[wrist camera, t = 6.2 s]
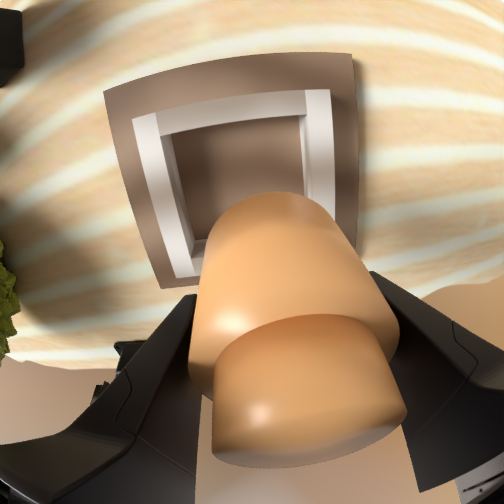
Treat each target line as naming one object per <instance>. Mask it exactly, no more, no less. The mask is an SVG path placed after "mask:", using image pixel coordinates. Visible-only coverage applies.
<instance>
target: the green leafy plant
mask: <svg viewBox="0 0 504 504" xmlns="http://www.w3.org/2000/svg"><path fill="white" fill-rule="evenodd" d="M3 248H4V247H3V243H2V241H1V240H0V258H1V257H2V256H3V254H2V252H3ZM15 280H16V277H15V276H14V275H13V274H12V273H10V272H9V271H6V268H4V267H3V264H2V263H1V262H0V367H1V360H2V359H3V358H4V357H5V354H6V353H10V349H9V346H8V341H7V339H6V338H9V337H11V336H14V335H16V334H17V331H16V329H15V328H14V326H13V324H12V320H11V319H12V318H11V316H12V315H15V314H16V313H18V312H21V309H20V305H19V301H18V297H17V296H16V293H15V292H13V288H12V287H14V284H15Z"/></svg>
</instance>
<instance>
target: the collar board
mask: <svg viewBox="0 0 504 504" xmlns="http://www.w3.org/2000/svg"><path fill="white" fill-rule="evenodd" d="M103 93H104V98H105V104H106V109H107V114H108V119H109V124H110V128H111V133H112V137H113V142H114V146H115V150H116V154H117V158H118V162H119V166H120V169H121V173H122V177H123V180H124V184H125V187H126V191H127V194H128V197H129V201H130V204H131V207H132V210H133V213H134V217H135V220H136V223H137V226H138V229H139V232H140V235H141V237H142V240H143V243H144V246H145V249H146V251H147V254H148V257H149V260H150V262H151V265H152V268H153V270H154V273H155V275H156V278H157V280H158V283H159V285H160V288H161V289H165V288H174V287H183V286H192V285H199V282H200V276H201V270H202V264H203V258H204V253H205V247H206V242H207V239H208V236H209V233H210V231H211V229H212V227H213V226H214V224H215V223H216V221H217V220H218V219H219V218H220V217H221V216H222V214H223V213H224V212H226V211H227V210H228V209H229V208H230V207H232V206H233V205H235V204H236V203H238V202H240V201H242V200H244V199H246V198H248V197H251V196H254V195H257V194H262V193H267V192H289V193H294V194H299V195H302V196H304V197H307V198H309V199H311V200H313V201H315V202H317V203H318V204H319V205H321V206H322V207H323V208H324V209H325V210H326V211H327V212H328V213H329V214H330V215H331V217H332V218H333V219H334V221H335V222H336V224H337V225H338V227H339V228H340V229H341V231H342V232H343V234H344V235H345V237H346V238H347V240H348V241H349V243H350V244H351V246H352V247H353V249H354V250H355V244H356V230H357V213H358V183H359V148H358V119H357V102H356V89H355V78H354V69H353V60H352V54H347V53H328V52H290V53H271V54H259V55H249V56H240V57H232V58H225V59H219V60H213V61H208V62H202V63H197V64H192V65H188V66H183V67H179V68H175V69H171V70H167V71H163V72H160V73H156V74H152V75H149V76H146V77H142V78H139V79H136V80H133V81H130V82H127V83H124V84H121V85H119V86H116V87H113V88H111V89H108V90H105V91H103Z"/></svg>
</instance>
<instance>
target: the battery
mask: <svg viewBox="0 0 504 504" xmlns="http://www.w3.org/2000/svg"><path fill="white" fill-rule="evenodd" d="M23 66H24V55H23V44H22V28H21V12H20V11H18V10H11V9H4V8H0V87H1V86H2V85H3V84H4V83H6V82H7V81H8V80H9V79H10V78H11V77H12V76H13V75H15V74H16V73H17V72H18V71H19V70H20V69H22V68H23Z"/></svg>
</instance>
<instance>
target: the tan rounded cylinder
mask: <svg viewBox="0 0 504 504" xmlns="http://www.w3.org/2000/svg"><path fill="white" fill-rule="evenodd" d="M399 337H400V331H399V324H398V321H397V319H396V317H395V315H394V313H393V312H392V310H391V308H390V306H389V305H388V303H387V301H386V300H385V298H384V296H383V294H382V293H381V291H380V290H379V288H378V286H377V285H376V283H375V281H374V280H373V278H372V277H371V275H370V273H369V272H368V270H367V269H366V267H365V265H364V264H363V262H362V261H361V259H360V258H359V256H358V255H357V253H356V252H355V250H354V249H353V247H352V246H351V244H350V243H349V241H348V240H347V238H346V237H345V235H344V234H343V232H342V231H341V229H340V228H339V227H338V225H337V224H336V222H335V221H334V219H333V218H332V217H331V215H330V214H329V213H328V212H327V211H326V210H325V209H324V208H323V207H322V206H321V205H319V204H318V203H317V202H315V201H313V200H311V199H309V198H307V197H304V196H302V195H299V194H294V193H289V192H267V193H262V194H257V195H254V196H251V197H248V198H246V199H244V200H242V201H240V202H238V203H236V204H235V205H233V206H232V207H230V208H229V209H228V210H227V211H226V212H224V213H223V214H222V216H221V217H220V218H219V219H218V220H217V221H216V223H215V224H214V226H213V227H212V229H211V231H210V233H209V236H208V239H207V242H206V247H205V253H204V258H203V264H202V270H201V276H200V282H199V288H198V295H197V301H196V308H195V314H194V321H193V328H192V335H191V343H190V350H189V358H188V371H189V375H190V378H191V380H192V382H193V384H194V385H195V387H196V388H197V389H198V390H199V391H200V392H201V393H202V394H203V395H204V396H206V397H207V398H208V399H210V400H212V401H213V412H212V415H213V416H212V453H213V455H214V456H215V457H216V458H218V459H220V460H221V461H224V462H226V463H229V464H233V465H237V466H243V467H250V468H270V469H271V468H288V467H289V468H290V467H298V466H305V465H311V464H316V463H321V462H325V461H328V460H332V459H336V458H339V457H342V456H345V455H348V454H351V453H353V452H356V451H358V450H361V449H363V448H365V447H367V446H369V445H371V444H373V443H375V442H376V441H379V440H380V439H382V438H383V437H385V436H387V435H388V434H389V433H391V432H392V431H393V430H394V429H396V428H397V427H398V426H399V425H400V424H401V423H402V422H403V420H404V419H405V417H406V415H407V409H406V406H405V404H404V401H403V399H402V396H401V394H400V391H399V389H398V386H397V384H396V381H395V379H394V377H393V374H392V372H391V369H390V367H389V365H388V363H389V362H390V360H391V359H392V357H393V355H394V353H395V351H396V349H397V346H398V343H399Z"/></svg>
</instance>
